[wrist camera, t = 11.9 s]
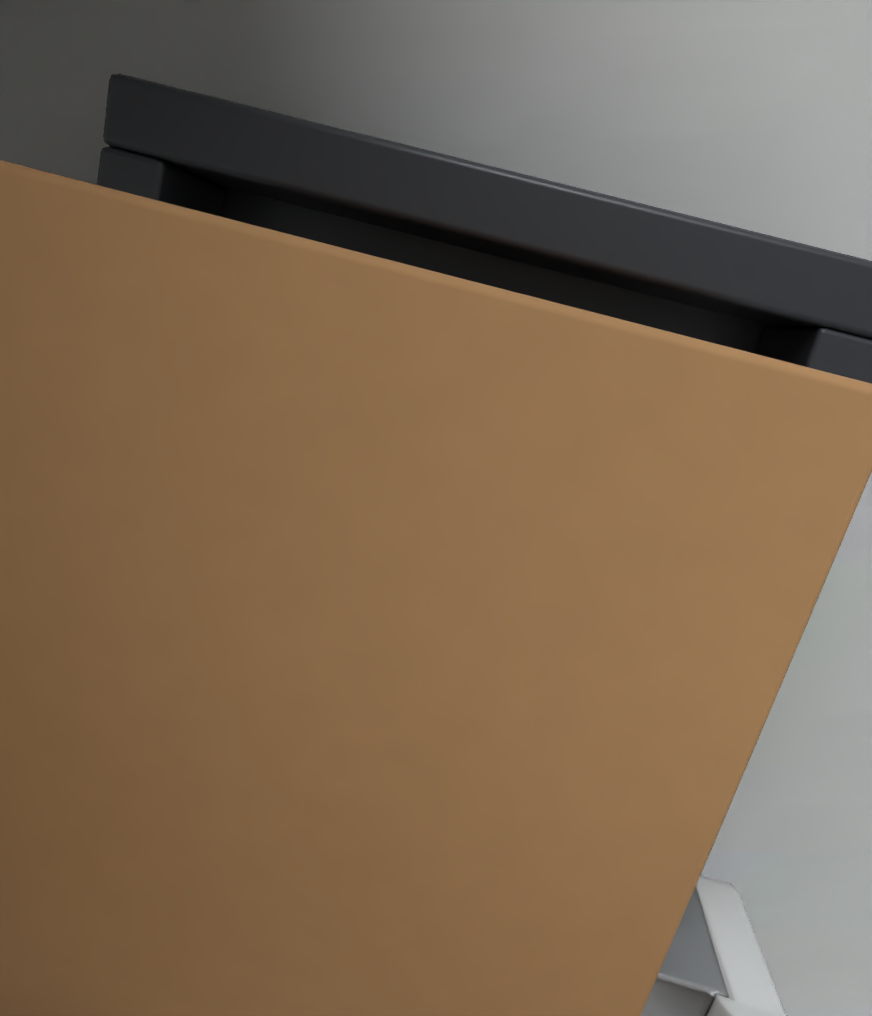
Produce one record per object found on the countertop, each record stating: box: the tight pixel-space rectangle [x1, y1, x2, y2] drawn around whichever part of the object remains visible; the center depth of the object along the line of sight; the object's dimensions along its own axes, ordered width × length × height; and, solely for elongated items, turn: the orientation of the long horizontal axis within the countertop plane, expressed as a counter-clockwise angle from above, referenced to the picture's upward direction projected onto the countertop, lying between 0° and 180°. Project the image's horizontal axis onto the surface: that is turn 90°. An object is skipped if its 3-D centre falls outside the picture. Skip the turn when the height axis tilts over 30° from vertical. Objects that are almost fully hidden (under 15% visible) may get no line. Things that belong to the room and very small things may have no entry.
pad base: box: [97, 74, 872, 384], centre depth 12 cm, size 15×9×3 cm, turn 166°
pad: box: [0, 160, 872, 1016], centre depth 8 cm, size 6×12×4 cm, turn 166°
